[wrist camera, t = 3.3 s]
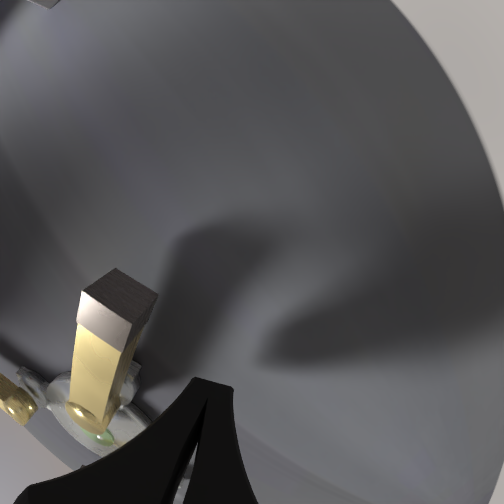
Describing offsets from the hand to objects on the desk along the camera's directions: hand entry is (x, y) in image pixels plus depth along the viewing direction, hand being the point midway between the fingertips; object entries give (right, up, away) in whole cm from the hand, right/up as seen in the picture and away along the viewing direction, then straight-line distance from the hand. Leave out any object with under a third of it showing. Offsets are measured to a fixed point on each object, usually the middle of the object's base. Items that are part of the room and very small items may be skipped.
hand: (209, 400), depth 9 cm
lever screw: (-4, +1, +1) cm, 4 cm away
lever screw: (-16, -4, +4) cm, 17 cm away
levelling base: (-8, -5, +5) cm, 11 cm away
